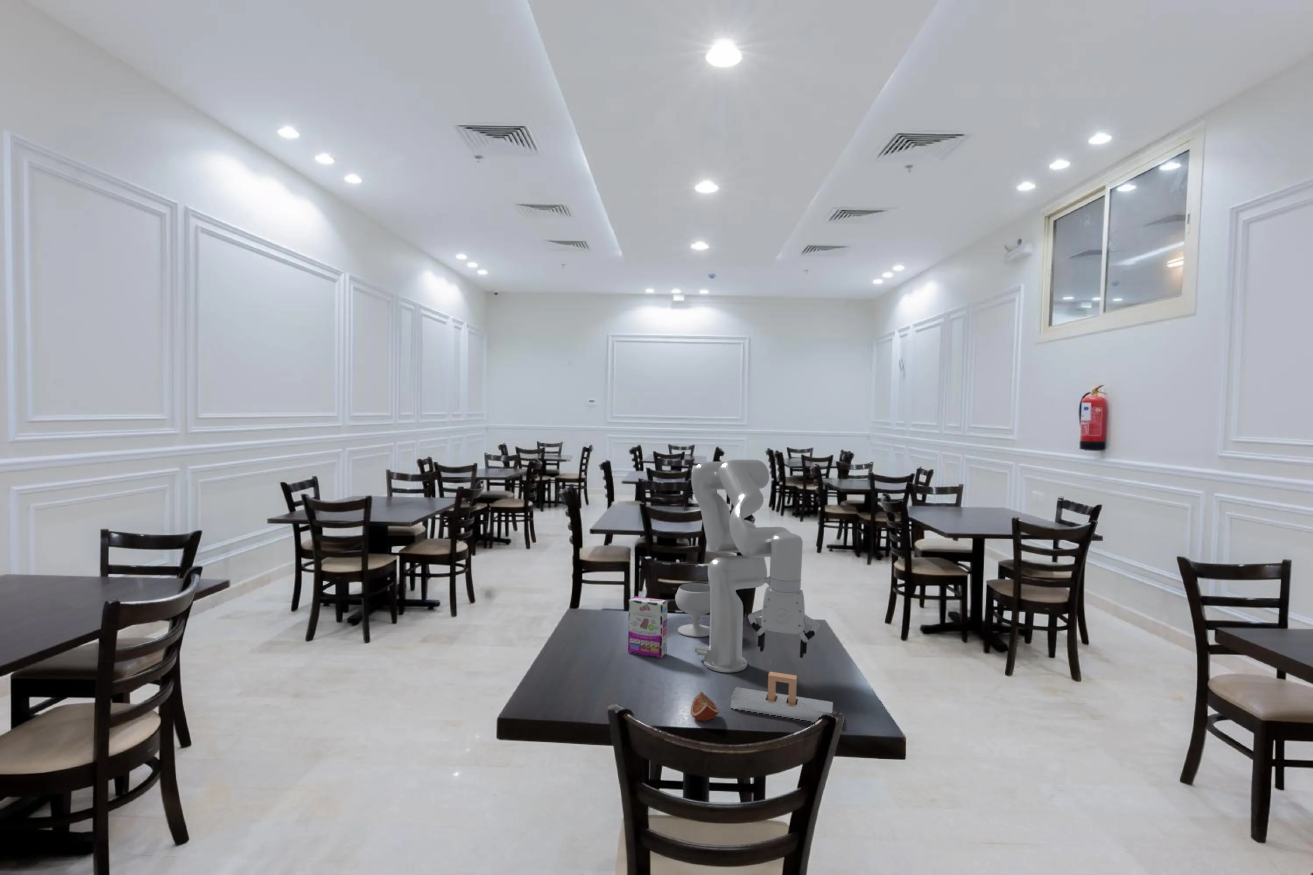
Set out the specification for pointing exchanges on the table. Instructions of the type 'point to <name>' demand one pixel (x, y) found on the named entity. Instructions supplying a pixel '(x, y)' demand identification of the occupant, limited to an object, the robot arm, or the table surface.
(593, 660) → the table surface
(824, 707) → the rail
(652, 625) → the candy bar box
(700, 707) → the fruit slice
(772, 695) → the orange u-shaped block
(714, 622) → the robot arm
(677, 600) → the chalice
